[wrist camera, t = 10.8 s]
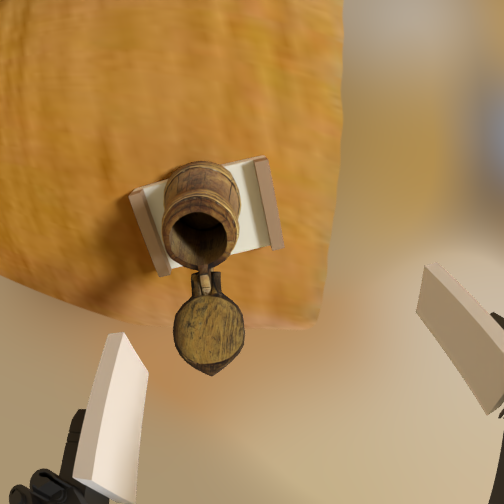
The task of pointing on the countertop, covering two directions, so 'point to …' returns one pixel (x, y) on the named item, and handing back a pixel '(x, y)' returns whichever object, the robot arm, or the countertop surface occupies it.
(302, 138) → the countertop surface
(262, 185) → the ledge board
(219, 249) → the wooden mug
